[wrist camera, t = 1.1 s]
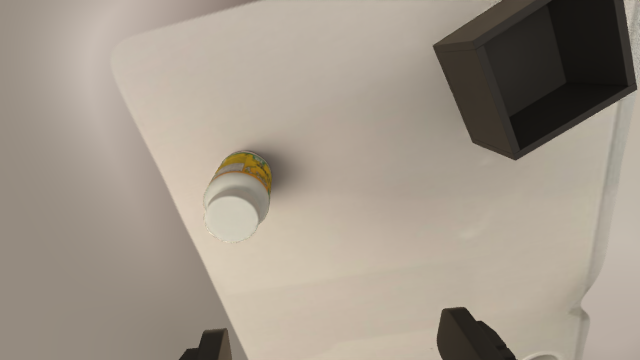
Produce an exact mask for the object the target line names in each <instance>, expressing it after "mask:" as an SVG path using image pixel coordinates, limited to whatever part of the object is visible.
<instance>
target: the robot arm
mask: <svg viewBox="0 0 640 360" xmlns="http://www.w3.org/2000/svg"><path fill="white" fill-rule="evenodd" d="M437 346H438V350H439V353H440V355H441V357H442V359H443V360H516V358H515V356H514V354H513V353H512V352H511V351H510V349H509V348H507V347H506V344H505V343H504V342H503V340H502V339H501V338H500V337H499V335H498V334H497V333H496V332H495V331H494V330H493V329H491V328H490V327H489V326H488V325H486V324H485V323H484V322H482V321H476V320H475V319H474V318H473V316H472V315H471V314H470V312H469V311H468V310H467V309H466V308H465V307H456V308H445V309H443V310H442V313H441V318H440V323H439V329H438V334H437ZM179 360H232V356H231V349H230V343H229V336H228V330H227V328H223V329H213V330H205V331H204V332H203V334H202V338H201V341H200V344H199V348H192V349H187V350H186V351H185V352H184V354H183V355H182V357H181V358H180V359H179ZM517 360H518V359H517Z"/></svg>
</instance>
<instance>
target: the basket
mask: <svg viewBox="0 0 640 360" xmlns="http://www.w3.org/2000/svg"><path fill="white" fill-rule="evenodd" d="M433 48H434V50H435V52H436V55H437V57H438V60H439V62H440V64H441V67H442V69H443V72H444V74H445V77H446V79H447V81H448V84H449V86H450V89H451V91H452V93H453V96H454V98H455V101H456V103H457V105H458V108H459V110H460V113H461V115H462V117H463V120H464V122H465V125H466V127H467V130H468V132H469V134H470V137H471V139H472V142H473V143H475V144H477V145H480V146H482V147H484V148H487V149H489V150H492V151H494V152H496V153H499V154H501V155H504V156H506V157H508V158H511V159H513V160H517V159H519V158H521V157H523V156H524V155H526V154H528V153H529V152H531V151H533V150H535V149H536V148H538V147H540V146H541V145H543V144H545V143H546V142H548V141H550V140H552V139H553V138H555V137H557V136H558V135H560V134H562V133H564V132H565V131H567V130H569V129H570V128H572V127H574V126H575V125H577V124H579V123H581V122H582V121H584V120H586V119H587V118H589V117H591V116H593V115H594V114H596V113H598V112H599V111H601V110H603V109H605V108H606V107H608V106H610V105H611V104H613V103H615V102H616V101H618V100H620V99H622V98H623V97H625V96H627V95H628V94H630V93H632V92H634V91H635V90H637V84H636V79H635V72H634V66H633V59H632V53H631V46H630V40H629V33H628V27H627V20H626V14H625V7H624V1H623V0H502V1H501V2H499V3H498V4H496V5H494V6H493V7H491V8H490V9H488V10H487V11H485V12H484V13H482V14H481V15H479V16H478V17H476V18H475V19H473V20H471V21H470V22H468V23H467V24H465V25H464V26H462V27H461V28H459V29H458V30H456V31H455V32H453V33H451V34H450V35H448V36H447V37H445V38H444V39H442V40H441V41H439V42H438V43H436V44H435V45H433Z"/></svg>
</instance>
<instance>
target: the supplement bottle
mask: <svg viewBox="0 0 640 360" xmlns="http://www.w3.org/2000/svg"><path fill="white" fill-rule="evenodd" d="M271 181H272V174H271V170H270V167H269V165H268V163H267V162H266V161H265V160H264V159H263V158H261V157H260V156H258V155H257V154H255V153H252V152H248V151H240V152H236V153H233V154H231V155H229V156H228V157H227V158H226V159H224V161H223V162H222V163H221V165H220V167H219V168H218V170H217V172H216V173H215V175H214V177H213V178H212V180H211V182H210V183H209V185H208V187H207V189H206V191H205V194H204V200H203V203H204V209H205V214H204V222H205V226H206V228H207V230H208V231H209V232H210V234H211V235H213V236H214V237H215V238H217V239H219V240H221V241H224V242H230V243H235V242H241V241H244V240H246V239H248V238H249V237H251V236H252V235H253V234H254V233H255V231H256V229H257V227H258V225H259V224H260V223H261V222H262V221H263V220H264V218H265V217H266V215H267V213H268V210H269V204H270V192H271Z"/></svg>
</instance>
